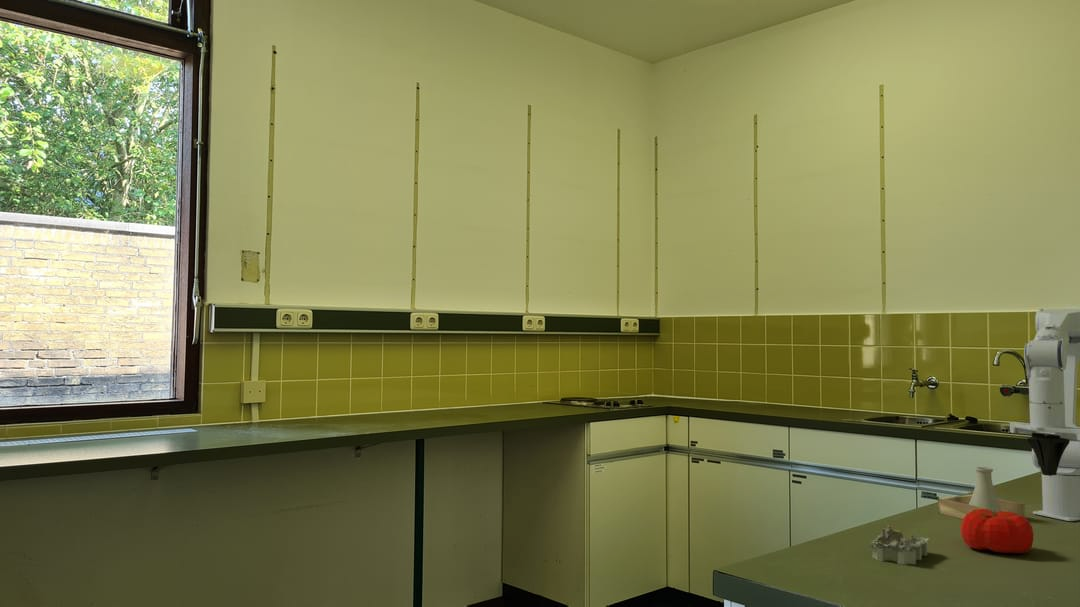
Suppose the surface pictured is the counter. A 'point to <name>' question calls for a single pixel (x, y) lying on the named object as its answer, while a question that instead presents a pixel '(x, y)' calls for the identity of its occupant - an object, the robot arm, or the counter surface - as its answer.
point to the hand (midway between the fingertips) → (1049, 474)
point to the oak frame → (961, 506)
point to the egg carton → (898, 547)
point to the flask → (985, 491)
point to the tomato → (997, 531)
